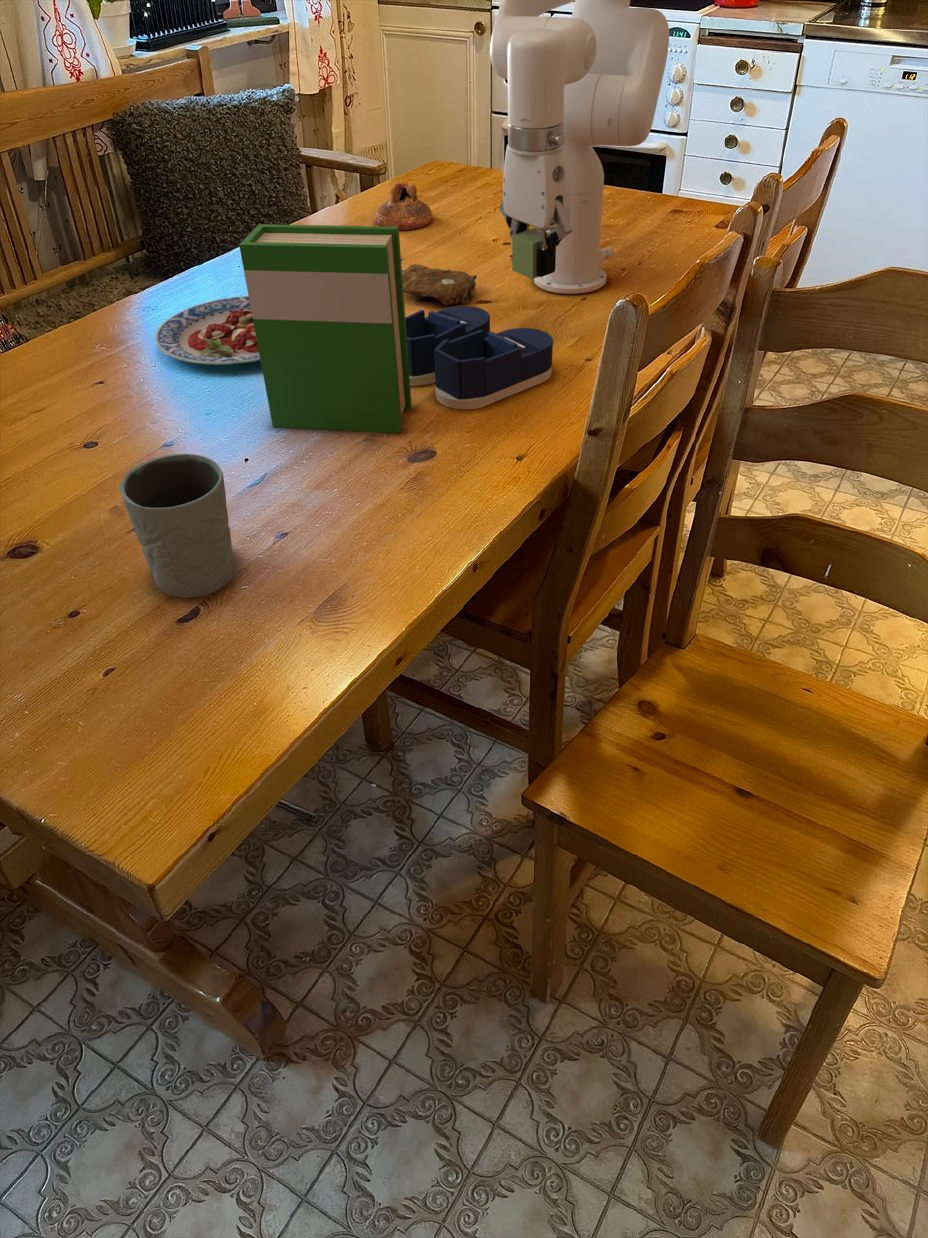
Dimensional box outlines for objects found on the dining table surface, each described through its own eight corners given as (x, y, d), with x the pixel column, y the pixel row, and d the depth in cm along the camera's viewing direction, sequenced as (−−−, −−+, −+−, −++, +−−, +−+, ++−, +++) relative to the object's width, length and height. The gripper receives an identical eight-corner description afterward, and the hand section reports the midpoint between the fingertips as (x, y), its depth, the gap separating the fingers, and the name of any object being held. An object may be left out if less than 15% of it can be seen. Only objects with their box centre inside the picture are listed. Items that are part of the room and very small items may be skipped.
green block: (535, 262, 140) (535, 227, 136) (555, 270, 137) (556, 235, 134) (512, 270, 138) (512, 235, 134) (532, 279, 135) (532, 243, 132)
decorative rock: (378, 303, 156) (460, 316, 152) (376, 279, 153) (459, 292, 149) (405, 276, 163) (483, 288, 159) (403, 253, 160) (483, 265, 156)
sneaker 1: (459, 332, 145) (457, 289, 140) (501, 346, 140) (501, 301, 136) (374, 375, 134) (370, 329, 130) (418, 391, 130) (414, 345, 125)
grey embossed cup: (180, 540, 104) (153, 447, 96) (261, 554, 101) (240, 459, 93) (131, 595, 96) (98, 499, 88) (216, 611, 94) (190, 513, 86)
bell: (438, 213, 191) (437, 176, 186) (423, 232, 182) (421, 193, 177) (385, 211, 193) (382, 174, 188) (368, 229, 184) (364, 191, 179)
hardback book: (411, 406, 126) (398, 226, 111) (401, 433, 121) (385, 247, 105) (288, 401, 129) (259, 223, 113) (272, 427, 123) (239, 244, 107)
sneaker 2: (524, 354, 138) (525, 310, 133) (564, 373, 133) (566, 327, 128) (423, 393, 129) (420, 347, 125) (461, 415, 124) (460, 368, 119)
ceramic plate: (242, 297, 159) (239, 279, 157) (355, 328, 147) (353, 310, 145) (123, 351, 143) (118, 333, 141) (239, 391, 131) (235, 372, 129)
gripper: (598, 142, 122) (591, 278, 134) (515, 119, 132) (515, 247, 144) (557, 154, 118) (553, 292, 131) (475, 130, 128) (479, 260, 141)
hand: (533, 267), depth 137 cm, fingers closed on green block, 4 cm apart
